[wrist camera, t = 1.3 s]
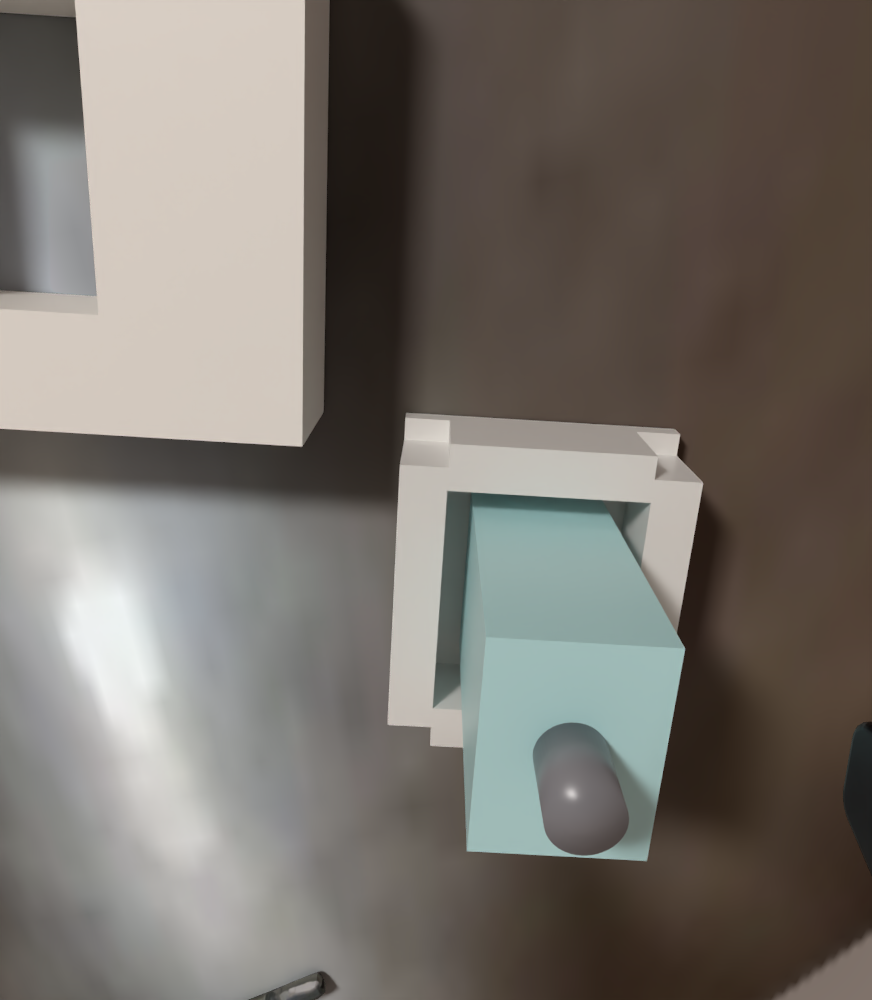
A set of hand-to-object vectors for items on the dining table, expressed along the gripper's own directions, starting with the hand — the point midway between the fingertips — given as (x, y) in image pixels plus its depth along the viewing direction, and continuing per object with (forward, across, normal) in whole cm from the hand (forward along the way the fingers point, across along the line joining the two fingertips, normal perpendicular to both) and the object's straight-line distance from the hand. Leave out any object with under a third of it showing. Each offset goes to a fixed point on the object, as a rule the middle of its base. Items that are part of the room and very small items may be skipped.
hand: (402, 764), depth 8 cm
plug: (+11, -2, +3) cm, 12 cm away
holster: (+12, -2, +3) cm, 12 cm away
